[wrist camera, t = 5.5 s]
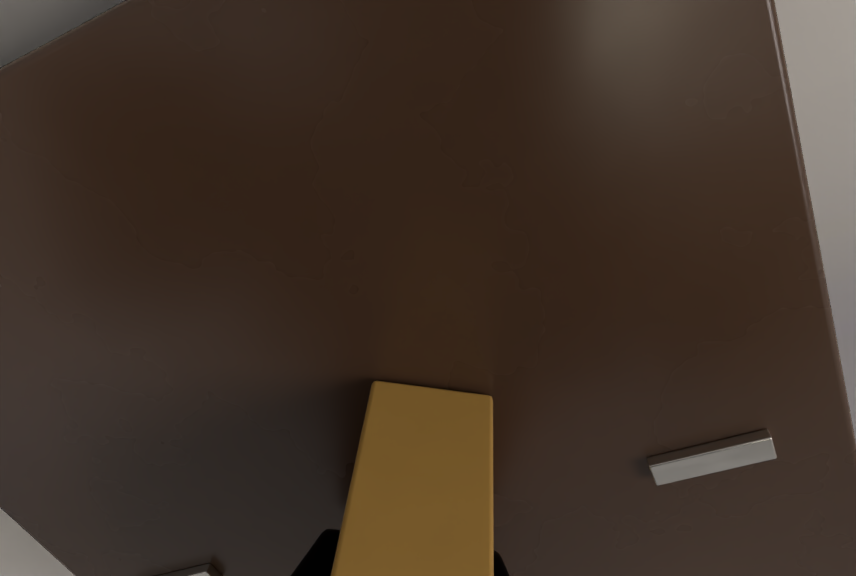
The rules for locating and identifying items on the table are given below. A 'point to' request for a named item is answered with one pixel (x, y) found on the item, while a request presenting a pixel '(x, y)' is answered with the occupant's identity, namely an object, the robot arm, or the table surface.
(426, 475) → the thumbturn
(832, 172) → the table surface
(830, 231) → the table surface
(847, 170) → the table surface
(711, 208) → the plate
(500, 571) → the robot arm
